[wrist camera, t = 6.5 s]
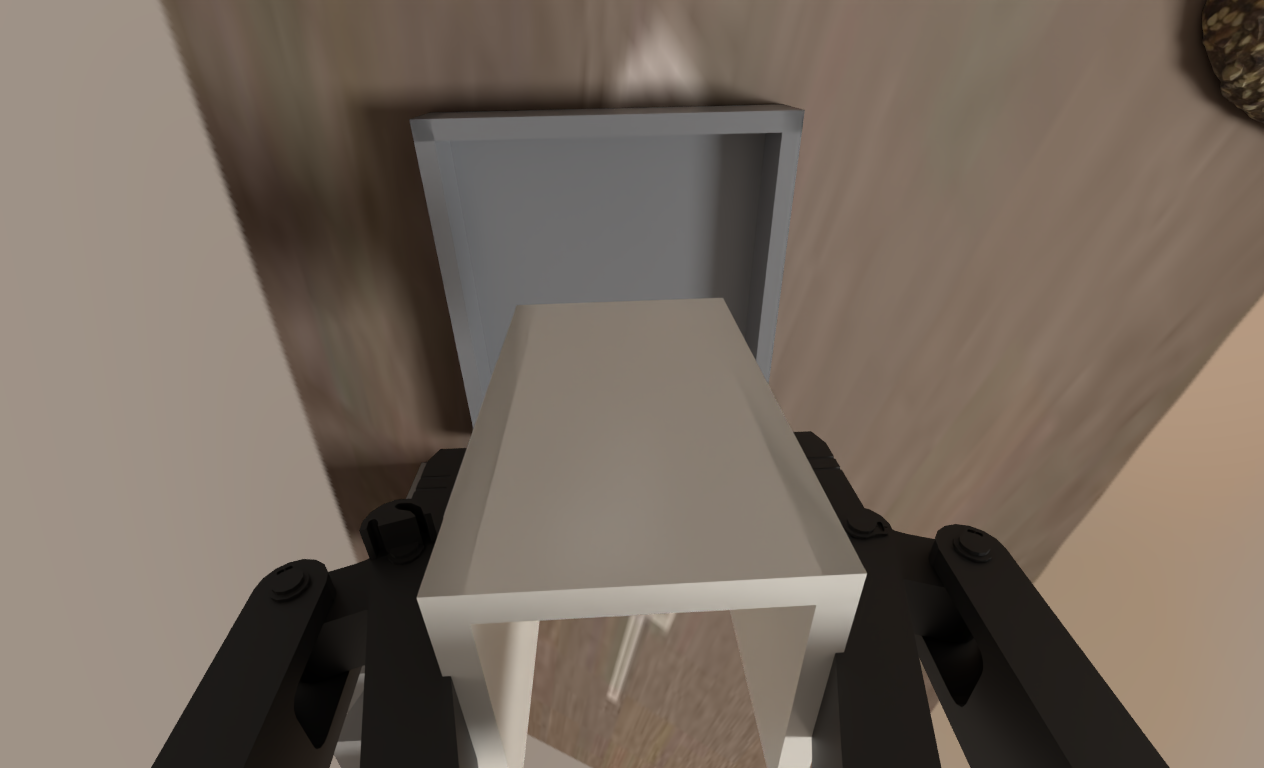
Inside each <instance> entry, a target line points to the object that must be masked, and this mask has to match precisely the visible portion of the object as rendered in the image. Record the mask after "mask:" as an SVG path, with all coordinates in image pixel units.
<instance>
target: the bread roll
mask: <svg viewBox="0 0 1264 768" xmlns="http://www.w3.org/2000/svg"><path fill="white" fill-rule="evenodd" d="M1202 28H1203V33H1204V35H1203V41H1202V42H1203V44H1204V45H1205V47H1206V51H1207V54H1208V58H1209V60H1210V62H1211V64H1212V68H1213V72H1214V73H1215V74H1216V76H1217V77H1218V78H1219V79H1220V81H1221V86H1220V87H1221V94H1222V95H1223V96H1224V97H1225V98H1226V99H1227V100H1228V101H1230V102H1233V103H1234V104H1235V106H1236V107H1238V108H1241V109H1242V110H1243V111H1245V112H1246V113H1247V114H1248V116H1249V117H1250V118H1252V119H1254V120H1257V121H1259V122H1261V123H1264V0H1207V2H1206V5H1205V7H1204V10H1203V13H1202Z"/></svg>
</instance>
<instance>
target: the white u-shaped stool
mask: <svg viewBox="0 0 1264 768" xmlns="http://www.w3.org/2000/svg"><path fill="white" fill-rule="evenodd" d="M866 575H867V572H866V570H865V568H864V567H863V565H862V563H861V561H860V559H859V557H858V555H857V553H856V551H855V549H854V547H853V546H852V544H851V542H850V540H849V538H848V536H847V534H846V532H845V530H844V528H843V526H842V524H841V523H840V521H839V519H838V517H837V515H836V513H835V511H834V509H833V507H832V505H831V503H830V502H829V500H828V498H827V496H826V494H825V492H824V490H823V488H822V486H821V484H820V482H819V481H818V479H817V477H816V475H815V473H814V471H813V469H812V467H811V465H810V463H809V461H808V459H807V458H806V456H805V454H804V452H803V450H802V448H801V446H800V444H799V442H798V440H797V438H796V437H795V435H794V433H793V431H792V429H791V427H790V425H789V423H788V421H787V419H786V417H785V416H784V414H783V412H782V410H781V408H780V406H779V404H778V402H777V400H776V398H775V396H774V395H773V393H772V391H771V389H770V387H769V385H768V383H767V381H766V379H765V377H764V375H763V373H762V372H761V370H760V368H759V366H758V364H757V362H756V360H755V358H754V356H753V354H752V352H751V351H750V349H749V347H748V345H747V343H746V341H745V339H744V337H743V335H742V333H741V331H740V330H739V328H738V326H737V324H736V322H735V320H734V318H733V316H732V314H731V312H730V310H729V308H728V307H727V305H726V303H725V301H724V299H723V298H702V299H675V300H647V301H619V302H591V303H564V304H536V305H517V306H516V309H515V312H514V314H513V317H512V320H511V323H510V326H509V329H508V332H507V335H506V338H505V341H504V344H503V347H502V349H501V352H500V355H499V358H498V361H497V364H496V367H495V370H494V373H493V376H492V379H491V382H490V385H489V387H488V390H487V393H486V396H485V399H484V402H483V405H482V408H481V411H480V414H479V417H478V420H477V422H476V425H475V428H474V431H473V434H472V437H471V440H470V443H469V446H468V449H467V452H466V455H465V458H464V460H463V463H462V466H461V469H460V472H459V475H458V478H457V481H456V484H455V487H454V490H453V493H452V495H451V498H450V501H449V504H448V507H447V510H446V513H445V516H444V519H443V522H442V525H441V528H440V531H439V533H438V536H437V539H436V542H435V545H434V548H433V551H432V554H431V557H430V560H429V563H428V566H427V569H426V571H425V574H424V577H423V580H422V583H421V586H420V589H419V592H418V595H417V601H418V604H419V607H420V610H421V613H422V616H423V619H424V622H425V625H426V628H427V631H428V634H429V637H430V640H431V643H432V646H433V649H434V652H435V655H436V658H437V661H438V664H439V667H440V670H441V673H442V676H451V678H452V681H453V684H454V687H455V690H456V693H457V697H458V700H459V703H460V706H461V709H462V712H463V715H464V719H465V722H466V725H467V728H468V731H469V734H470V737H471V741H472V744H473V747H474V750H475V753H476V756H477V760H478V768H523V767H524V758H525V748H526V739H527V730H528V721H529V711H530V702H531V693H532V684H533V674H534V665H535V656H536V647H537V638H538V628H539V621H540V620H558V619H575V618H593V617H611V616H629V615H647V614H665V613H682V612H700V611H718V610H730V613H731V617H732V622H733V626H734V630H735V634H736V639H737V643H738V647H739V651H740V655H741V660H742V664H743V668H744V672H745V676H746V681H747V685H748V689H749V693H750V698H751V702H752V706H753V710H754V714H755V719H756V723H757V727H758V731H759V735H760V740H761V744H762V748H763V752H764V757H765V761H766V765H767V768H810V765H811V762H812V734H813V730H814V727H815V723H816V720H817V716H818V712H819V709H820V705H821V702H822V698H823V695H824V691H825V688H826V684H827V681H828V677H829V674H830V670H831V666H832V663H833V659H834V656H835V653H840V652H844V650H845V647H846V643H847V640H848V636H849V633H850V630H851V626H852V623H853V619H854V616H855V613H856V609H857V606H858V603H859V599H860V596H861V592H862V589H863V586H864V582H865V579H866Z"/></svg>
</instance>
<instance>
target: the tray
mask: <svg viewBox="0 0 1264 768" xmlns="http://www.w3.org/2000/svg"><path fill="white" fill-rule="evenodd" d="M804 111H805V110H803V109H799V108H795V107H791V106H788V105H784V104H772V105H729V106H686V107H643V108H600V109H558V110H515V111H472V112H430V113H427V114H424V115H421V116H418V117H415V118H412V119H409V120H410V125H411V130H412V135H413V139H414V144H415V149H416V154H417V159H418V164H419V168H420V173H421V178H422V183H423V188H424V193H425V197H426V202H427V207H428V212H429V217H430V222H431V227H432V231H433V236H434V241H435V246H436V251H437V256H438V260H439V265H440V270H441V275H442V280H443V285H444V289H445V294H446V299H447V304H448V309H449V314H450V318H451V323H452V328H453V333H454V338H455V343H456V347H457V352H458V357H459V362H460V367H461V372H462V377H463V381H464V386H465V391H466V396H467V401H468V406H469V410H470V415H471V420H472V425H473V429H474V426H475V423H476V420H477V417H478V414H479V411H480V408H481V406H482V403H483V400H484V397H485V394H486V391H487V388H488V385H489V382H490V379H491V376H492V374H493V371H494V368H495V365H496V362H497V361H498V358H499V355H500V352H501V349H502V347H503V344H504V341H505V338H506V335H507V332H508V329H509V326H510V323H511V320H512V317H513V314H514V312H515V309H516V306H517V305H536V304H564V303H591V302H619V301H647V300H675V299H702V298H723V299H724V301H725V303H726V305H727V307H728V308H729V310H730V312H731V314H732V316H733V318H734V320H735V322H736V324H737V326H738V328H739V330H740V331H741V333H742V335H743V337H744V339H745V341H746V343H747V345H748V347H749V349H750V351H751V352H752V354H753V356H754V358H755V360H756V362H757V364H758V366H759V368H760V370H761V372H762V373H763V375H764V377H765V379H766V381H767V383H768V384H769V377H770V369H771V361H772V354H773V346H774V339H775V331H776V323H777V316H778V308H779V301H780V293H781V286H782V278H783V270H784V263H785V255H786V248H787V240H788V232H789V225H790V217H791V210H792V202H793V195H794V187H795V179H796V172H797V164H798V157H799V149H800V141H801V134H802V126H803V119H804Z"/></svg>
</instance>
